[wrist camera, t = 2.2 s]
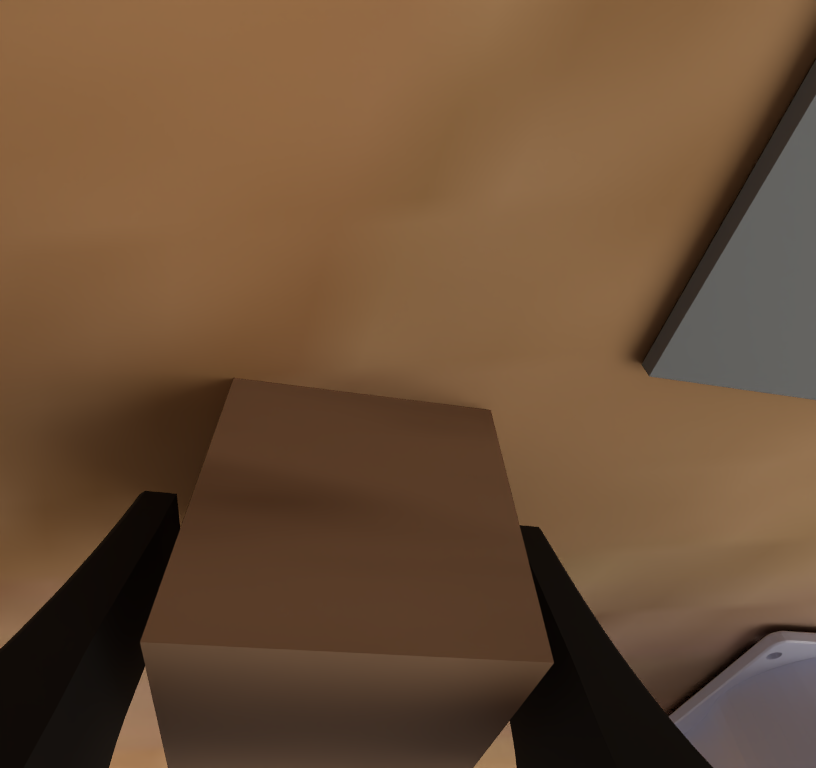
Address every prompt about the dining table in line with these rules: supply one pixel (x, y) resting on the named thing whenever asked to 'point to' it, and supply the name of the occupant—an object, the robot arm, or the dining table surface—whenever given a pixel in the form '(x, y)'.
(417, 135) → the dining table surface
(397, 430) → the walnut cube
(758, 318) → the mat
